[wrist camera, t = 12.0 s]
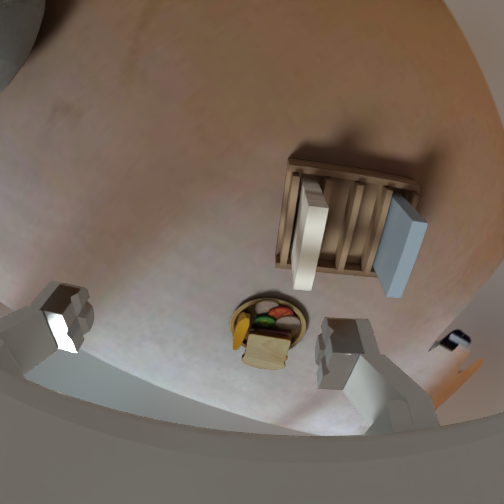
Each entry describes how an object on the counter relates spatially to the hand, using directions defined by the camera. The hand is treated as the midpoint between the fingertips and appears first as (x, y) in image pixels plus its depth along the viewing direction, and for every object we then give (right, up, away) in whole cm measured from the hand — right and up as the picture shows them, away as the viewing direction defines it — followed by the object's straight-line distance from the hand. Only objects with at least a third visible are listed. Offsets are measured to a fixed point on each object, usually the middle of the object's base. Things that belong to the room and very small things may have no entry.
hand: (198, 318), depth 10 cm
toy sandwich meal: (+5, -10, +42) cm, 44 cm away
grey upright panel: (+20, +6, +30) cm, 36 cm away
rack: (+14, +7, +31) cm, 35 cm away
